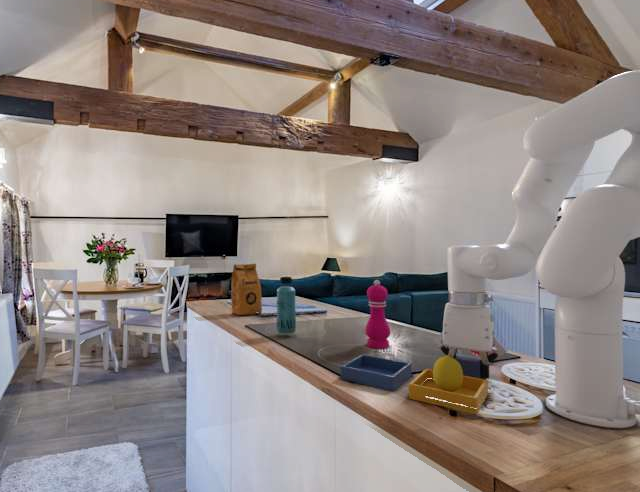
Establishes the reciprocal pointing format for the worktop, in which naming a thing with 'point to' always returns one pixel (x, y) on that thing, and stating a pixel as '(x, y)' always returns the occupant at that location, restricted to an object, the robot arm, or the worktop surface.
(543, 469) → the worktop surface
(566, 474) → the worktop surface
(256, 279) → the coffee package
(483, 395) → the mustard tray
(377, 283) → the pepper mill
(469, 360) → the navy block
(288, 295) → the beverage bottle
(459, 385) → the lemon
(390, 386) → the blue tray
